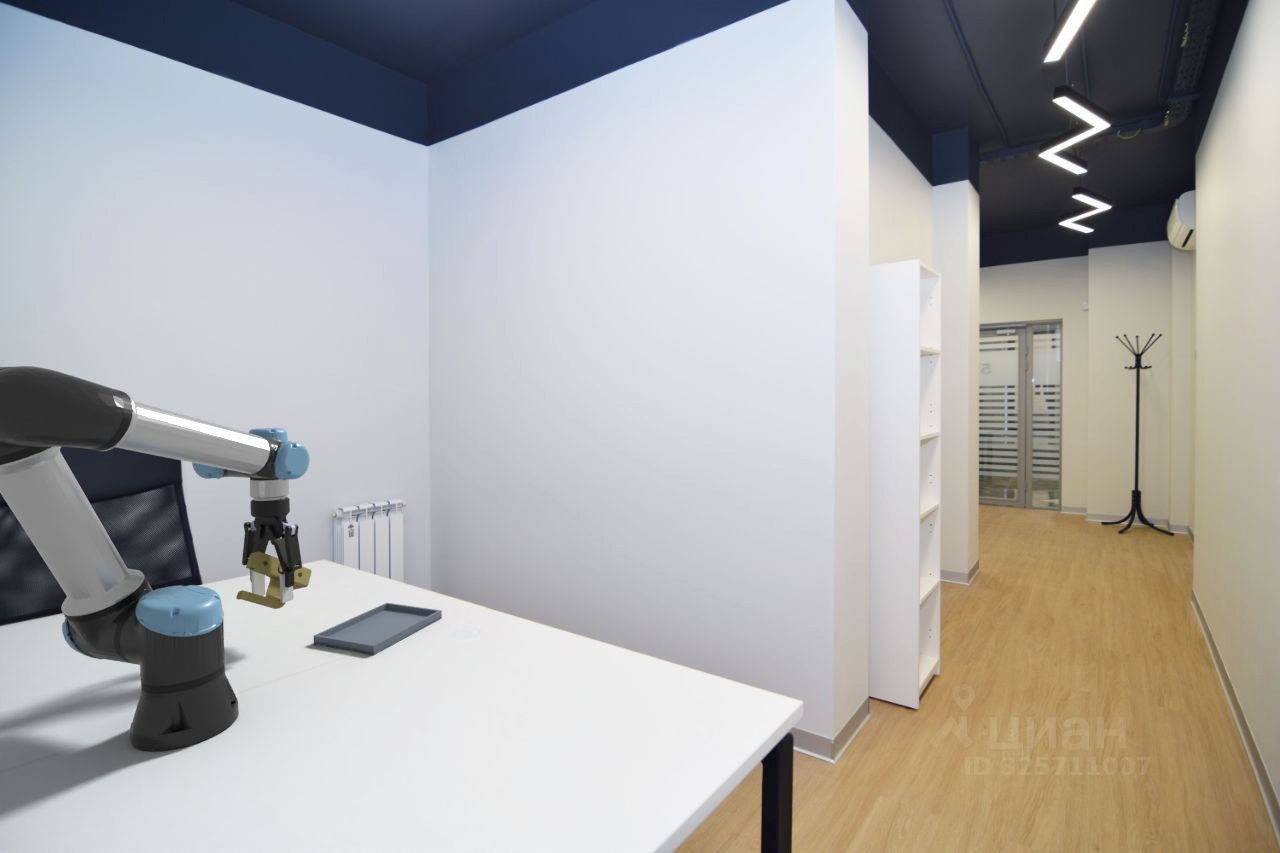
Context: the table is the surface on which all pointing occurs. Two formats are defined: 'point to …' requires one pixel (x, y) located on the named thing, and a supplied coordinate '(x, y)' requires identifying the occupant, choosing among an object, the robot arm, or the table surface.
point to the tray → (377, 628)
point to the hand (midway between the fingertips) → (272, 598)
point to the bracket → (272, 580)
